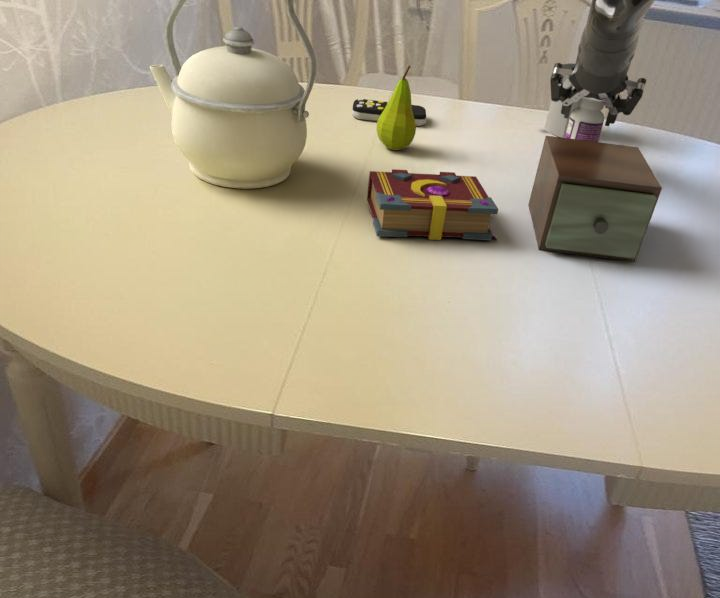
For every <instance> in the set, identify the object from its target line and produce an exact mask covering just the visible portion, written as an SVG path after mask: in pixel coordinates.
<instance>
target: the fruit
mask: <svg viewBox="0 0 720 598" xmlns="http://www.w3.org/2000/svg"><path fill="white" fill-rule="evenodd" d="M410 69H411V65H408V66H407V68H406V70H405V72H404V74H403V76H402V77H401V78H400V79H399V80H398V83H397V84H396V86H395V88H394V90H393V93H392V94H391V96H390V97H389V100H388V101H387V102H388V104H387V105H386V107H385V109H384V111H383V112H382V114H381V115H380V117H379V119H378V121H376V133H377V137H378V139H379V142H381V143H382V144H383V145H384V146H385V148H387V149H388V150H392V151H400V150H404V149H406V148H407V147H408V146H410V145H411V144H412V142H414V141H413V140H414V138H415V136H416V132H417V126H416V122H415V119H414V116H413V112H412V105H413V104H412V91H411V88H410V83H409V81H408V79H407V78H406V76H407V75H408V72H409V70H410Z"/></svg>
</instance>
